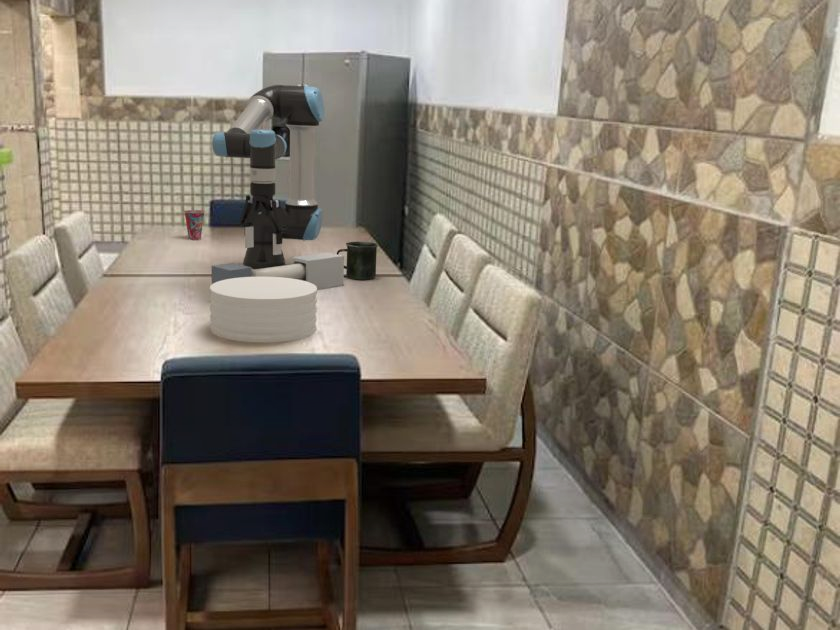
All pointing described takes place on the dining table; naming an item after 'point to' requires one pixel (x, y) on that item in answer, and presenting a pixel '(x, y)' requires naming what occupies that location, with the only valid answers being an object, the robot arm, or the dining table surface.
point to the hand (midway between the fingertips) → (263, 250)
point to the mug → (360, 260)
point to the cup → (194, 223)
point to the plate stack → (263, 309)
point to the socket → (230, 271)
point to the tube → (282, 271)
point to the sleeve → (322, 269)
